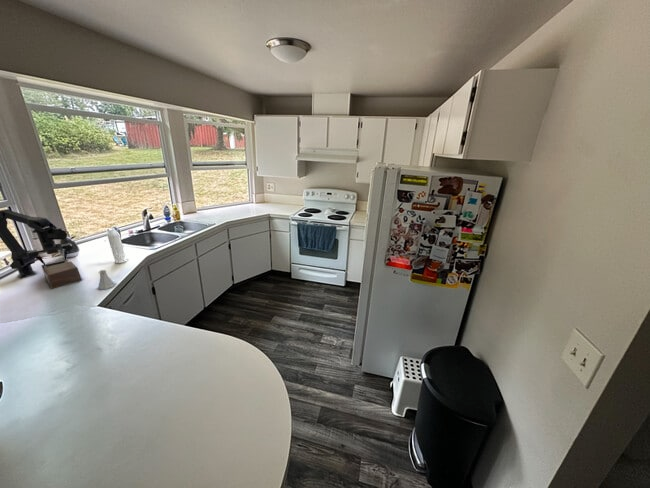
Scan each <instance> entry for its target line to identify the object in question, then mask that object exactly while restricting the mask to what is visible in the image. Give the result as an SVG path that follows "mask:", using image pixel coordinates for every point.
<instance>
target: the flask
mask: <svg viewBox="0 0 650 488" xmlns="http://www.w3.org/2000/svg"><path fill="white" fill-rule="evenodd" d="M98 274H99V282H98V286H97V288H98V289H100V290H108V289H110V288H112V287H114V286H115V285H116V283H115V282H114V281H113V280H112V279H111V278H110V277H109V276H108V274H107V270H106V269H102V270H99V271H98Z"/></svg>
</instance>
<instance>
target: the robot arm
mask: <svg viewBox="0 0 650 488" xmlns="http://www.w3.org/2000/svg"><path fill="white" fill-rule="evenodd" d="M8 220H10V221H14V222H18V223H21V224H25V225H26V226H28V228H30V229H33V230H32V231H31V233H32V234H36V236H37V238H38V240H39V243H40V245H41V248H42V249H41V250H37V249H33V250H32V249H31V250H30V249H29V250H27V249H24V248H23V246H22V245H21V244H20V243H19V241H18V239H16V237H15V236H14V235H13V233H12V232H11V230H10V229H9V228H8V224H9V223H8ZM66 237H68V233H67V232H66V230H63V229H62V228H61V227H59V228H58V227H57V226H56V225H55V224H53V223H52V222H51V221H50V220H49V219H48V218H47V217H41V216H30V215H27V214H24V213H21V212H17V211H13V210H11V209H9V208H8V209H7V208H6V209H5V208H4V209H1V210H0V239H1V241H2V243H4V245H5V246H6V247H7V248H8V250H9V251H10V252H11V255H10V259H11V260H12V262H11V264H10V265H9V267H10V268H11V269H12V270H17V272H18V276H19V279H23V278H26V277H31V276H34V275H35V276H36V275H37V273H36V271H35V270H34V269H33V267H32V265H33V264H35V259H36V260H38V261H39V262H40V263H42V265H45V264H46V262H45V261H44V260H43V258H42V256H41V254H46V255H52V254H59V253H60V250H61V249H62V252H63V255H62V257H63V260H65V261H66V260H67V258H68V257H67V253H68V251H70V249H73V247H72V245H71V244H69V243H67V244H62V246H61V244H60V243H56V242H55V241H57V240H58V241H60V240H64V239H66Z"/></svg>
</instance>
